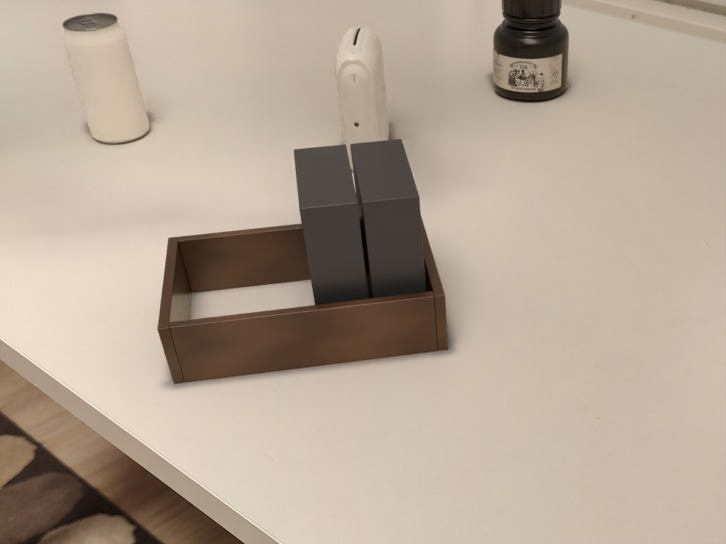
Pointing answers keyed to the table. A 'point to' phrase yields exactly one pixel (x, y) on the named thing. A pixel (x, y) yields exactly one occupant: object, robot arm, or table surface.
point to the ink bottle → (530, 50)
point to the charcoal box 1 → (330, 224)
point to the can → (105, 77)
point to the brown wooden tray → (283, 310)
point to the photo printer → (361, 88)
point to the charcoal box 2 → (388, 218)
